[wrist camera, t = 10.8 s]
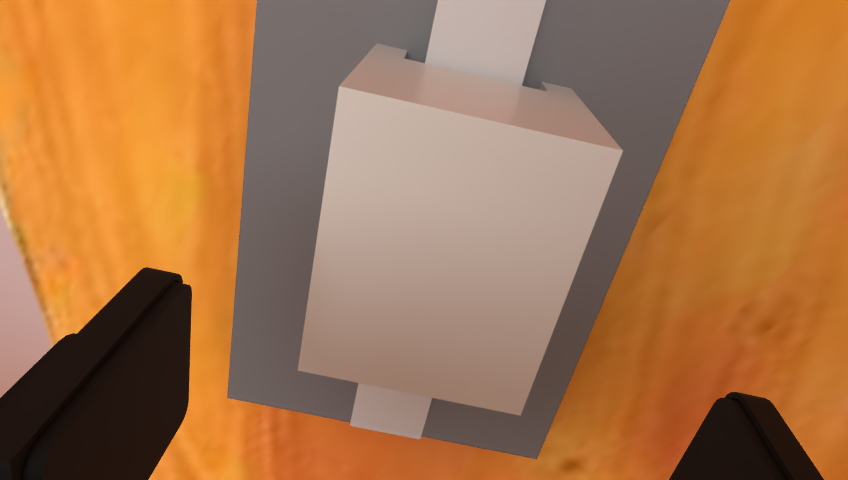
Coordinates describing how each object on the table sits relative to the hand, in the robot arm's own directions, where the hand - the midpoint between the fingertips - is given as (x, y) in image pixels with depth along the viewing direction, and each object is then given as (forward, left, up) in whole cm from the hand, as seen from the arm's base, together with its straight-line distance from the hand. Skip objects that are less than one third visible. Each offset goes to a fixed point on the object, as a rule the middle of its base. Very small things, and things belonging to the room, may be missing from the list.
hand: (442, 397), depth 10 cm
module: (0, 0, -11) cm, 11 cm away
